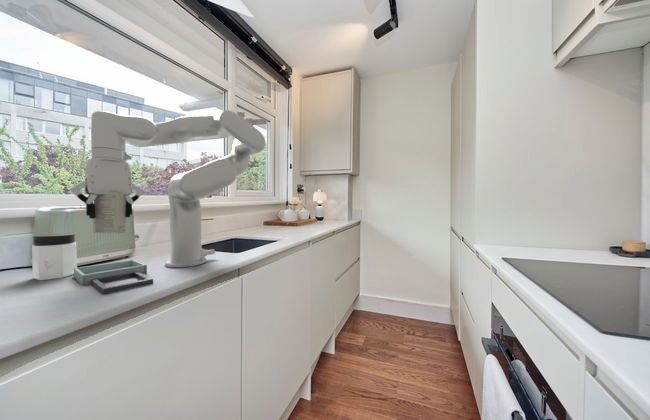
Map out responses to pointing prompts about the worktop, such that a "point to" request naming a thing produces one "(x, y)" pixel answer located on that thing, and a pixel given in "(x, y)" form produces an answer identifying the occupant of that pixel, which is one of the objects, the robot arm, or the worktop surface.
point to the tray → (108, 270)
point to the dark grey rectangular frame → (104, 289)
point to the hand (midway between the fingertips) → (110, 217)
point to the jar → (54, 255)
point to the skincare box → (110, 213)
